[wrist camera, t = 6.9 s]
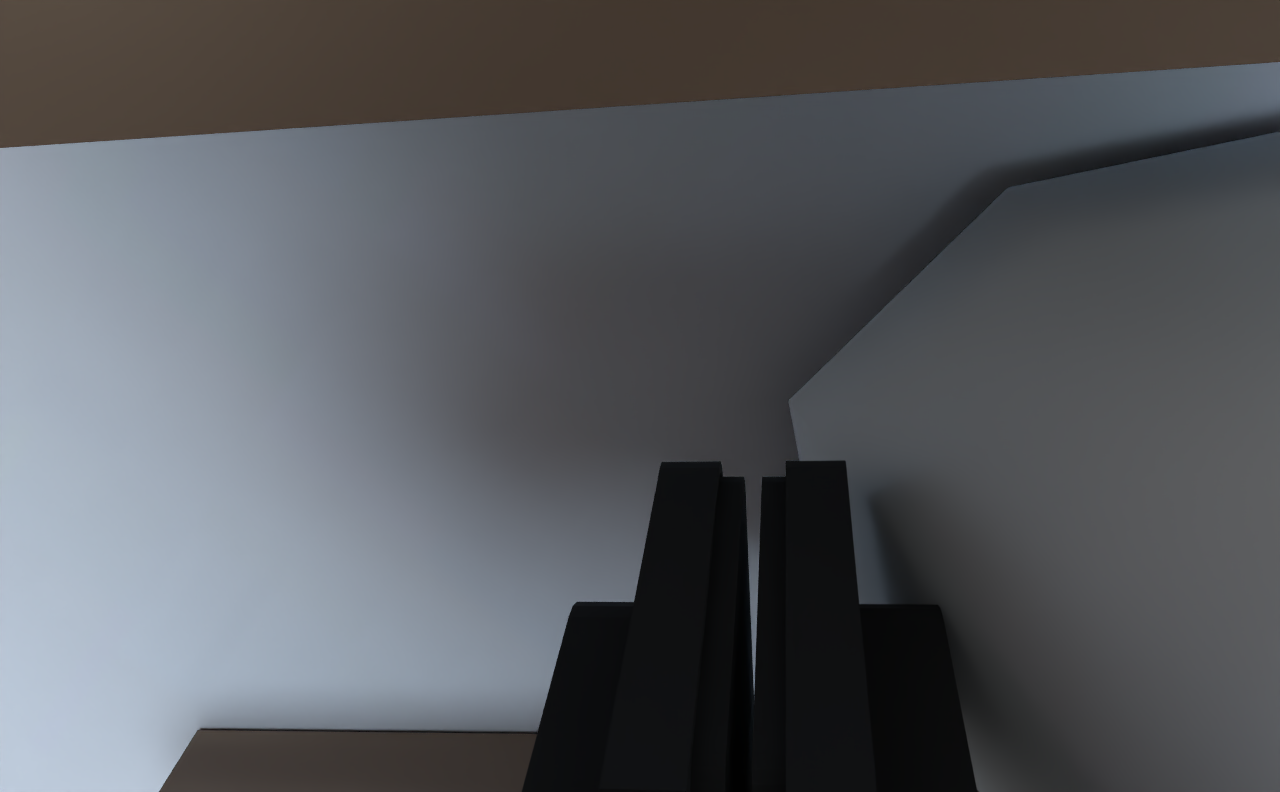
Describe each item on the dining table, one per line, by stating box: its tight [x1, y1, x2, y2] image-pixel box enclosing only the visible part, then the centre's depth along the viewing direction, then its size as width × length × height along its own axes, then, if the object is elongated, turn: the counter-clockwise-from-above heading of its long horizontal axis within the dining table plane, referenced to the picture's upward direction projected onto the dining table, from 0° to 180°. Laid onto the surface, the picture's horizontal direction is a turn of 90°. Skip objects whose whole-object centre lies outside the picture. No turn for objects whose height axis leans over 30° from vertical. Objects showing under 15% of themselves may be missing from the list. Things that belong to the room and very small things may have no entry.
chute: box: [0, 0, 1280, 792], centre depth 11 cm, size 11×18×4 cm, turn 95°
